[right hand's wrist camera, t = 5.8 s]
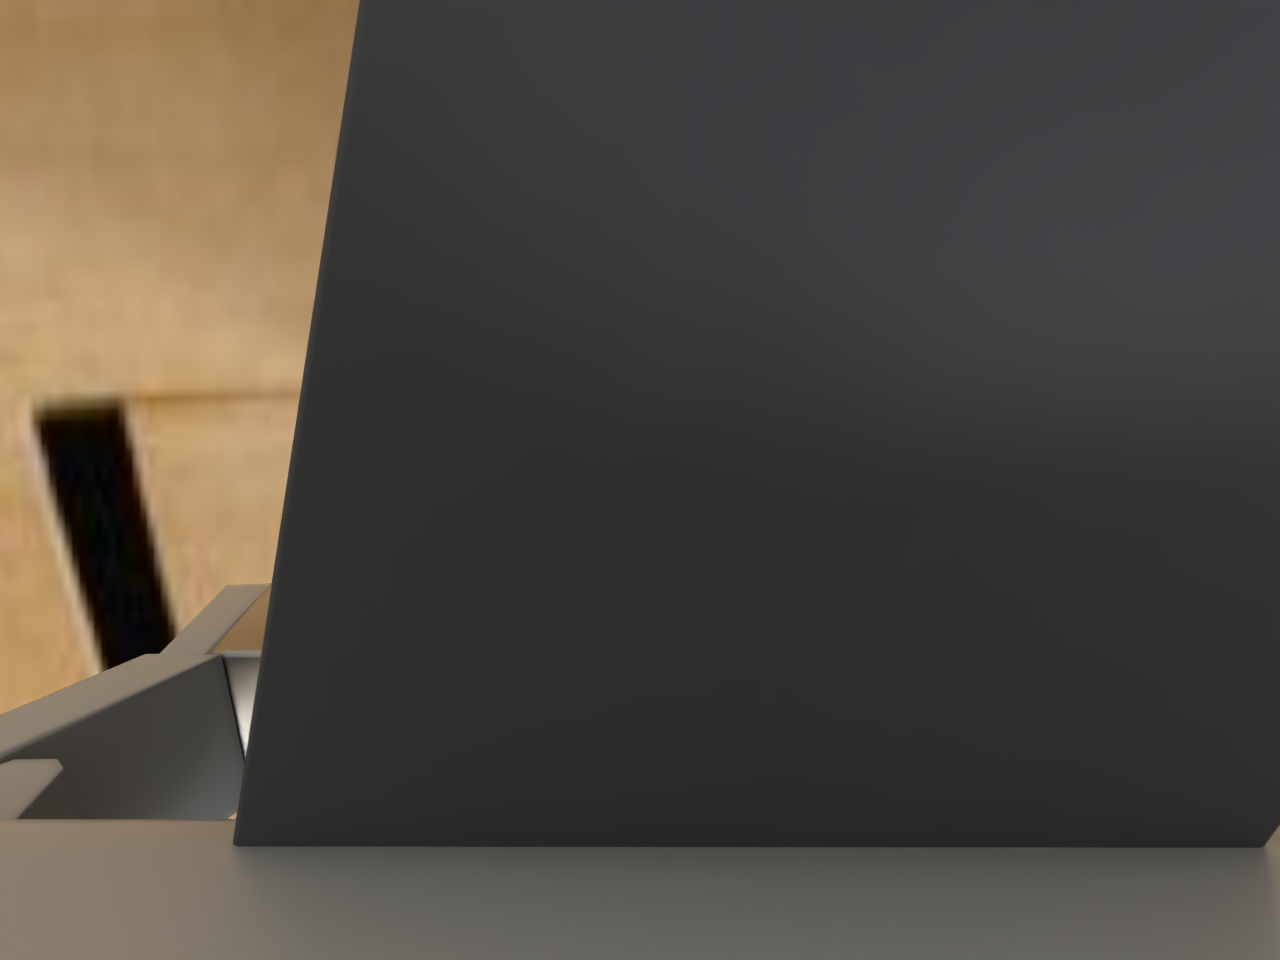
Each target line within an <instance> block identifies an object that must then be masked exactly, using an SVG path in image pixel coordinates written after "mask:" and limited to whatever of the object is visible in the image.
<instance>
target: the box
mask: <svg viewBox="0 0 1280 960" xmlns="http://www.w3.org/2000/svg"><path fill="white" fill-rule="evenodd" d="M1279 826H1280V0H360V2H359V9H358V15H357V22H356V29H355V35H354V42H353V48H352V55H351V62H350V68H349V75H348V82H347V88H346V95H345V101H344V108H343V115H342V121H341V128H340V135H339V141H338V148H337V154H336V161H335V168H334V174H333V181H332V188H331V194H330V201H329V207H328V214H327V221H326V227H325V234H324V241H323V247H322V254H321V260H320V267H319V274H318V280H317V287H316V294H315V300H314V307H313V313H312V320H311V327H310V333H309V340H308V347H307V353H306V360H305V366H304V373H303V380H302V386H301V393H300V400H299V406H298V413H297V419H296V426H295V433H294V439H293V446H292V453H291V459H290V466H289V472H288V479H287V486H286V492H285V499H284V506H283V512H282V519H281V525H280V532H279V539H278V545H277V552H276V559H275V565H274V572H273V578H272V585H271V592H270V598H269V605H268V611H267V618H266V625H265V631H264V638H263V645H262V651H261V658H260V664H259V671H258V678H257V684H256V691H255V698H254V704H253V711H252V717H251V724H250V731H249V737H248V744H247V751H246V757H245V764H244V770H243V777H242V784H241V790H240V797H239V804H238V810H237V817H236V823H235V830H234V837H233V845H236V846H262V847H1031V848H1260V847H1263V846H1265V845H1266V843H1267V842H1268V841H1269V839H1270V838H1271V836H1272V835H1273V834H1274V832H1275V831H1276V830H1277V828H1278V827H1279Z"/></svg>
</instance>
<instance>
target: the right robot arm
mask: <svg viewBox="0 0 1280 960" xmlns="http://www.w3.org/2000/svg"><path fill="white" fill-rule="evenodd" d="M271 585H272V584H245V585H229V586H226V587H225V588H224V589H223V590H222V591H221V592H220V593H219V594H218V595H217V596H216V597H215V598H214V599H213V600H212V601H211V602H210V603H209V604H208V605H207V606H206V607H205V608H204V609H203V610H202V611H201V612H200V613H199V614H198V615H197V616H196V617H195V618H194V620H193V621H192V622H191V623H190V624H189V625H188V626H187V627H186V628H185V629H184V630H183V631H182V632H181V633H180V634H179V635H178V636H177V637H176V638H175V639H174V640H173V641H172V642H171V643H170V644H169V645H168V646H167V647H166V648H165V649H164V650H163V651H162V652H161V653H160V654H145V655H142V656H140V657H138V658H135V659H133V660H131V661H128V662H126V663H123V664H121V665H119V666H116V667H114V668H111V669H109V670H107V671H104V672H102V673H100V674H97V675H95V676H92V677H90V678H88V679H85V680H83V681H80V682H78V683H76V684H73V685H71V686H69V687H66V688H64V689H61V690H59V691H57V692H54V693H52V694H50V695H47V696H45V697H42V698H40V699H38V700H35V701H33V702H30V703H28V704H26V705H23V706H21V707H19V708H16V709H14V710H11V711H9V712H7V713H4V714H2V715H0V960H1280V826H1279V827H1278V828H1277V830H1276V831H1275V832H1274V834H1273V835H1272V836H1271V838H1270V839H1269V841H1268V842H1267V843H1266V845H1265V846H1263V847H1260V848H1031V847H262V846H236V845H233V837H234V830H235V823H236V819H228V818H229V817H230V816H232V815H233V814H234V813H236V812H237V810H238V804H239V797H240V790H241V784H242V777H243V770H244V764H245V757H246V751H247V744H248V737H249V731H250V724H251V717H252V711H253V704H254V698H255V691H256V684H257V678H258V671H259V664H260V658H261V651H262V645H263V638H264V631H265V625H266V618H267V611H268V605H269V598H270V592H271Z"/></svg>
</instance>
